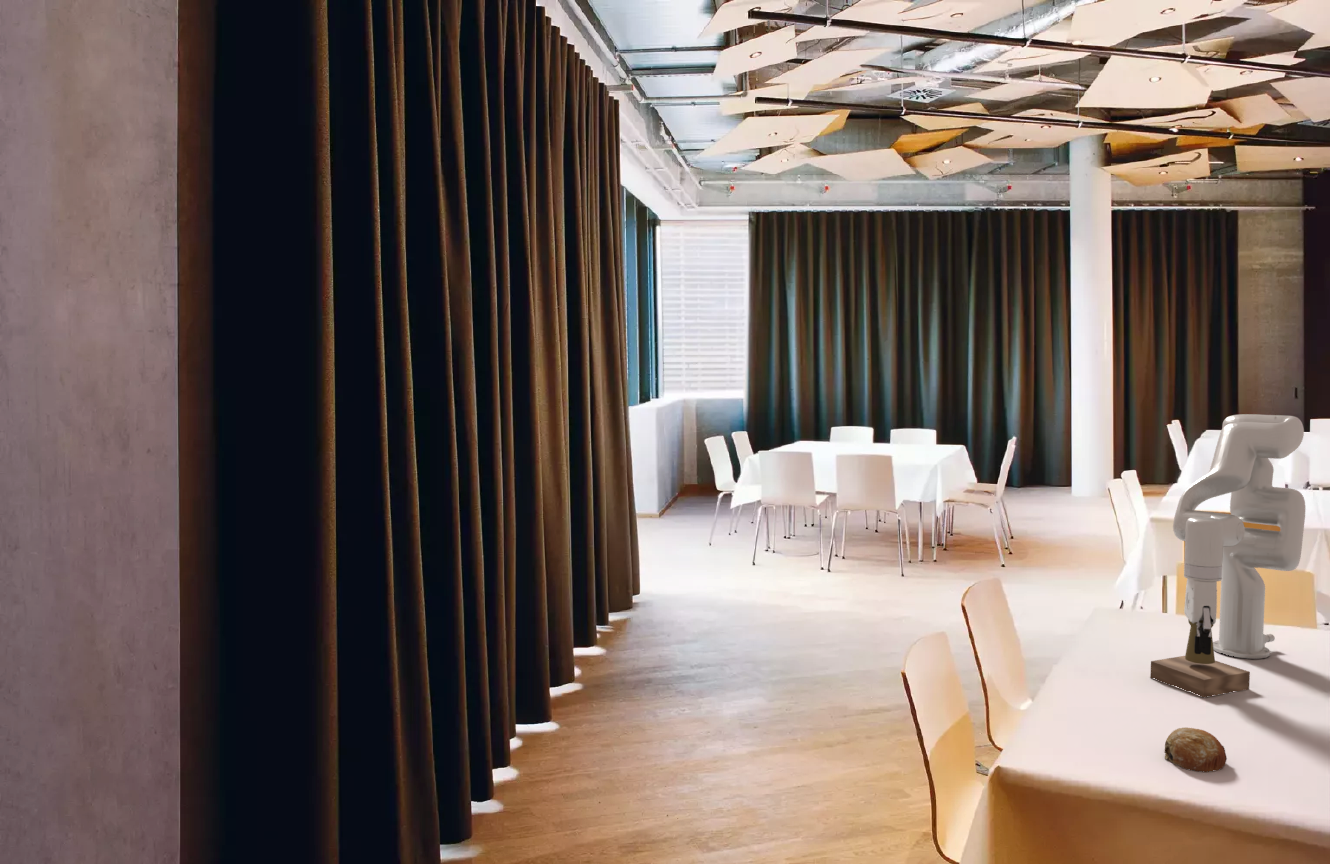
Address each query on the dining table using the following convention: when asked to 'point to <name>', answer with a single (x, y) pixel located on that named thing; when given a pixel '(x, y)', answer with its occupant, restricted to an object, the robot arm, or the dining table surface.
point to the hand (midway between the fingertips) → (1200, 649)
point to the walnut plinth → (1200, 676)
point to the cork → (1190, 652)
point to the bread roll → (1195, 750)
